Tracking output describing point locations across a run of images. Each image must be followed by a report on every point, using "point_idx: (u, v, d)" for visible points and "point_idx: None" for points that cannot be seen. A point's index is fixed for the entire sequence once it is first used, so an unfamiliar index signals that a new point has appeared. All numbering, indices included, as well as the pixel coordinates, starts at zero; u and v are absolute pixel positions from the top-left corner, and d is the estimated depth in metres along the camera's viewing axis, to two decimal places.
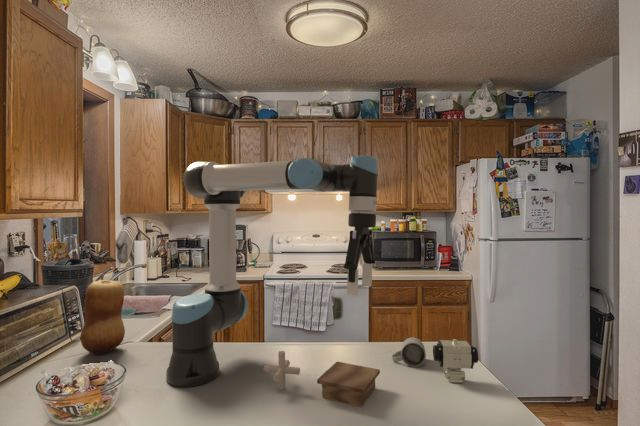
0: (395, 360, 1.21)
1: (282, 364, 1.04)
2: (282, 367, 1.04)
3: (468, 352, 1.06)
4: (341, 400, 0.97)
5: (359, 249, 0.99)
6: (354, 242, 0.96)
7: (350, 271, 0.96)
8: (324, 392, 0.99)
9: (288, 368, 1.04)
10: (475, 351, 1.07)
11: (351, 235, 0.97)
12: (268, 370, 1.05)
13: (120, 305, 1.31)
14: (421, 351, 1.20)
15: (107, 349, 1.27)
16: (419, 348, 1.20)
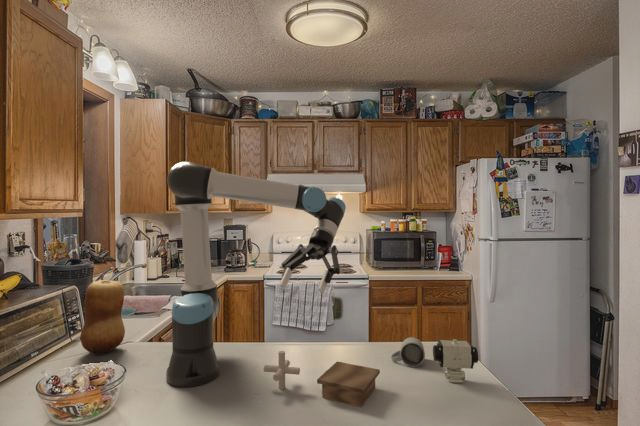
0: (394, 360, 1.21)
1: (282, 364, 1.04)
2: (282, 367, 1.04)
3: (468, 352, 1.06)
4: (341, 400, 0.97)
5: None
6: (336, 255, 1.18)
7: (331, 274, 1.13)
8: (324, 392, 0.99)
9: (288, 368, 1.04)
10: (475, 351, 1.07)
11: (335, 249, 1.19)
12: (268, 370, 1.05)
13: (120, 305, 1.31)
14: (420, 351, 1.20)
15: (107, 349, 1.27)
16: (418, 348, 1.20)
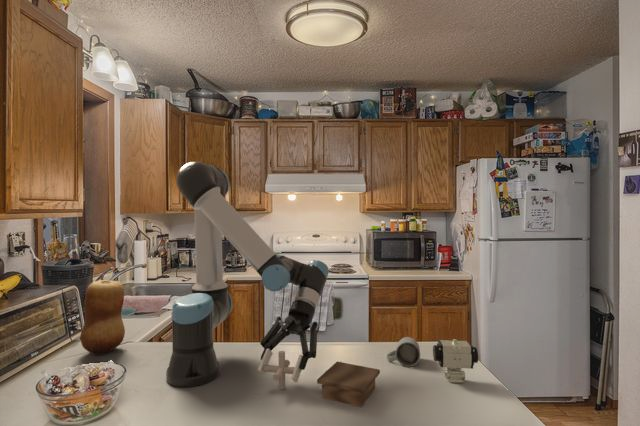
0: (390, 359, 1.22)
1: (282, 364, 1.04)
2: (282, 367, 1.04)
3: (468, 352, 1.06)
4: (341, 400, 0.97)
5: (306, 339, 1.09)
6: (316, 334, 1.08)
7: (306, 358, 1.03)
8: (324, 392, 0.99)
9: (288, 368, 1.04)
10: (475, 351, 1.07)
11: (316, 326, 1.09)
12: (268, 370, 1.05)
13: (120, 305, 1.31)
14: (416, 351, 1.20)
15: (107, 349, 1.27)
16: (414, 348, 1.20)
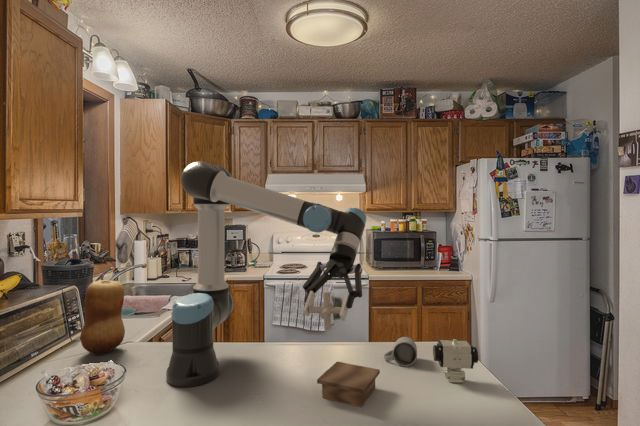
0: (387, 359, 1.22)
1: (328, 304, 1.02)
2: (328, 307, 1.02)
3: (468, 352, 1.06)
4: (341, 400, 0.97)
5: None
6: (360, 275, 1.06)
7: (352, 297, 1.01)
8: (324, 392, 0.99)
9: (334, 308, 1.02)
10: (475, 351, 1.07)
11: (360, 268, 1.07)
12: (313, 311, 1.03)
13: (120, 305, 1.31)
14: (413, 350, 1.20)
15: (107, 349, 1.27)
16: (411, 347, 1.20)
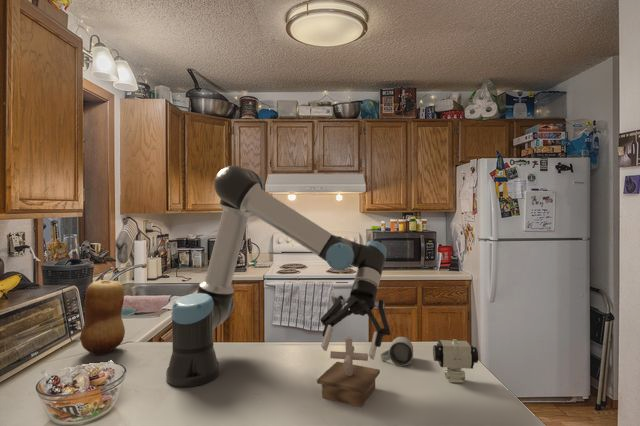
0: (383, 359, 1.22)
1: (350, 350, 1.01)
2: (350, 353, 1.01)
3: (468, 352, 1.06)
4: (341, 400, 0.97)
5: None
6: (384, 312, 1.06)
7: (381, 335, 1.00)
8: (324, 392, 0.99)
9: (356, 354, 1.01)
10: (475, 351, 1.07)
11: (383, 304, 1.06)
12: (335, 357, 1.01)
13: (120, 305, 1.31)
14: (409, 350, 1.20)
15: (107, 349, 1.27)
16: (407, 347, 1.20)
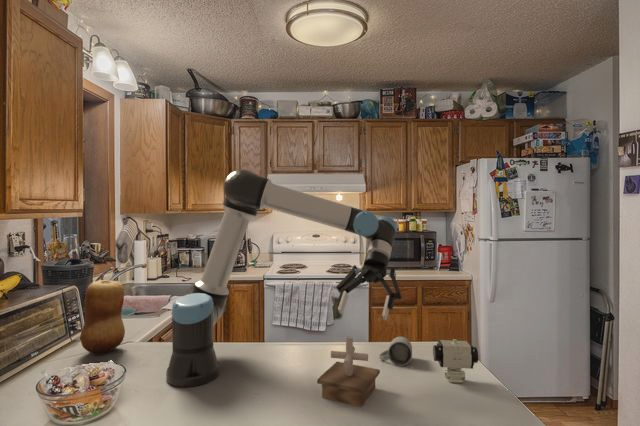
0: (382, 359, 1.22)
1: (350, 350, 1.01)
2: (350, 353, 1.01)
3: (468, 352, 1.06)
4: (341, 400, 0.97)
5: None
6: None
7: (393, 299, 1.09)
8: (324, 392, 0.99)
9: (356, 354, 1.01)
10: (475, 351, 1.07)
11: (394, 272, 1.15)
12: (335, 356, 1.02)
13: (120, 305, 1.31)
14: (408, 350, 1.20)
15: (107, 349, 1.27)
16: (406, 347, 1.20)
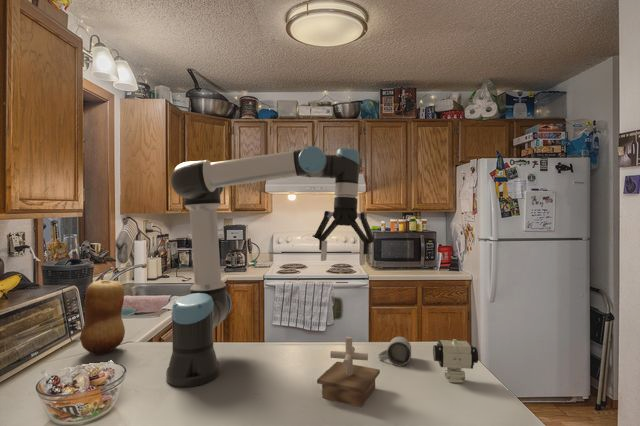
0: (381, 359, 1.22)
1: (350, 350, 1.01)
2: (350, 353, 1.01)
3: (468, 352, 1.06)
4: (341, 400, 0.97)
5: (359, 227, 1.21)
6: (366, 222, 1.19)
7: (367, 245, 1.18)
8: (324, 392, 0.99)
9: (356, 354, 1.01)
10: (475, 351, 1.07)
11: (364, 216, 1.18)
12: (335, 356, 1.02)
13: (120, 305, 1.31)
14: (407, 350, 1.21)
15: (107, 349, 1.27)
16: (405, 347, 1.20)
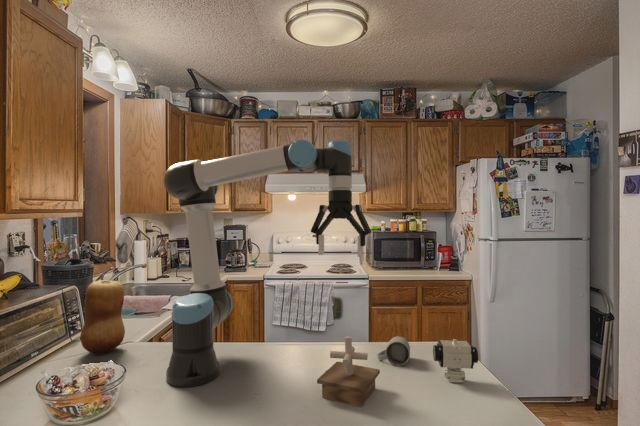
0: (380, 359, 1.22)
1: (349, 349, 1.01)
2: (349, 352, 1.01)
3: (468, 352, 1.06)
4: (341, 400, 0.97)
5: None
6: (362, 213, 1.19)
7: (364, 237, 1.18)
8: (324, 392, 0.99)
9: (356, 353, 1.01)
10: (475, 351, 1.07)
11: (359, 208, 1.18)
12: (335, 356, 1.02)
13: (120, 305, 1.31)
14: (406, 350, 1.21)
15: (107, 349, 1.27)
16: (404, 347, 1.21)
